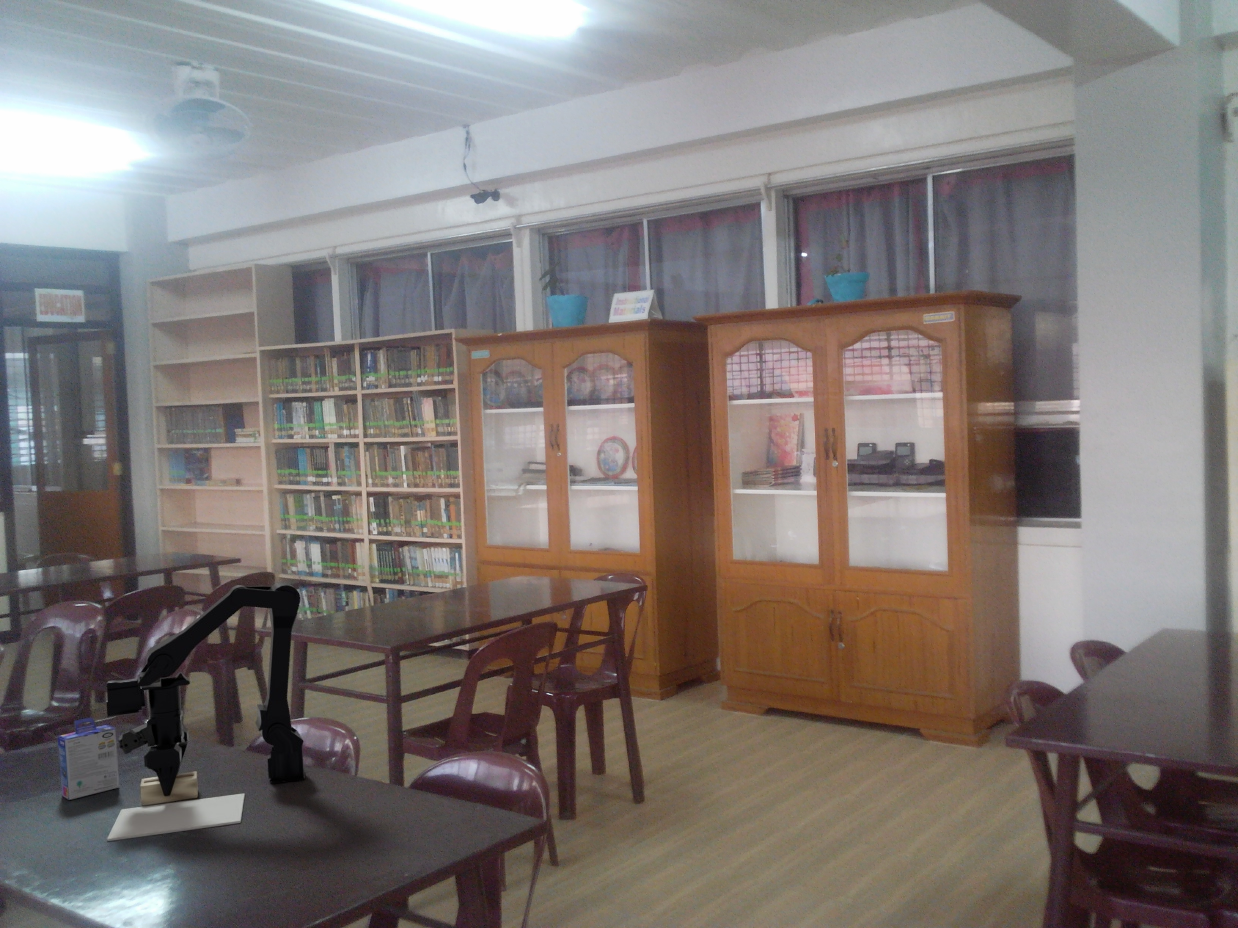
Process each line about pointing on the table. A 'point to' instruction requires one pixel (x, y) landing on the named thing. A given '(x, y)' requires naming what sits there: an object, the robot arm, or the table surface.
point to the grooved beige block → (181, 790)
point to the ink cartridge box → (88, 760)
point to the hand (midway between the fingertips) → (169, 788)
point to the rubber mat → (177, 817)
